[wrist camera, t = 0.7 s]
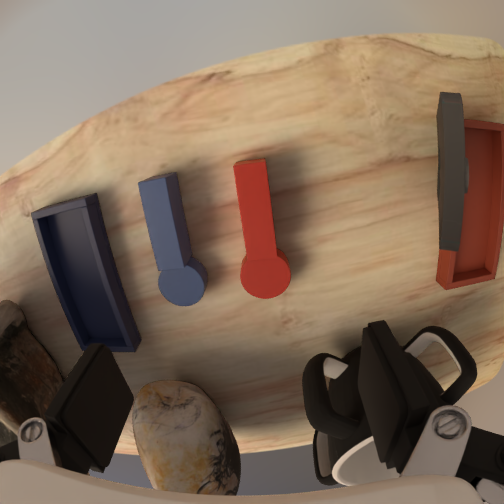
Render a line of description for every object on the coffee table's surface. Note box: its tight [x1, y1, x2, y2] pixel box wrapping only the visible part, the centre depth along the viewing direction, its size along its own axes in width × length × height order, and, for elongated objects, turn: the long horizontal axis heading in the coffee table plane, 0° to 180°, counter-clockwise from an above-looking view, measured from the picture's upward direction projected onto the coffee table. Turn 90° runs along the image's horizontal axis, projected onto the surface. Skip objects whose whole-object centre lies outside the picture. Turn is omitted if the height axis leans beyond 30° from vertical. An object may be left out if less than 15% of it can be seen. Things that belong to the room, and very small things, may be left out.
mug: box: [302, 326, 477, 486], centre depth 25 cm, size 16×16×12 cm
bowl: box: [0, 300, 64, 447], centre depth 25 cm, size 27×26×15 cm
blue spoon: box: [138, 172, 208, 306], centre depth 24 cm, size 11×4×3 cm, turn 8°
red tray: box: [436, 119, 504, 290], centre depth 22 cm, size 15×7×2 cm, turn 8°
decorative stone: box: [132, 380, 241, 496], centre depth 26 cm, size 18×9×15 cm, turn 18°
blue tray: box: [31, 193, 141, 352], centre depth 26 cm, size 15×7×2 cm, turn 8°
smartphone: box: [437, 92, 469, 252], centre depth 16 cm, size 7×1×15 cm
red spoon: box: [233, 158, 291, 299], centre depth 23 cm, size 11×4×3 cm, turn 8°
